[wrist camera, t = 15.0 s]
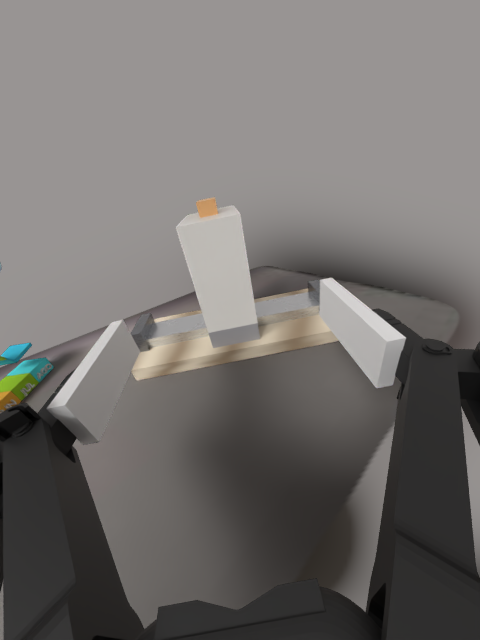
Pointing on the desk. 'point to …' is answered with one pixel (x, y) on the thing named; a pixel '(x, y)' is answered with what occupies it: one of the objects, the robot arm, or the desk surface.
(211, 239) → the breaker module
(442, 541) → the robot arm
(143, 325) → the steel rail
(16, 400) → the chart
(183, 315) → the rail board
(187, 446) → the desk surface
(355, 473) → the desk surface
